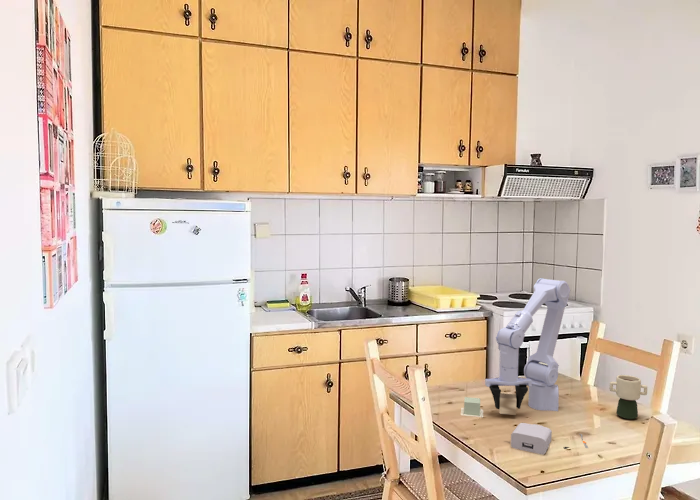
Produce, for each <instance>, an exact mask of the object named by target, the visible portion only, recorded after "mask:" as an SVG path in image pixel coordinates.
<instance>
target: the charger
mask: <svg viewBox="0 0 700 500" xmlns="http://www.w3.org/2000/svg"><path fill="white" fill-rule="evenodd" d="M552 435H553V433H552V430H551V428H550V427H546V426H543V425H541V424H540V425H539V424H535V423H533V424H531V423H525V422H520V423H518V424H517V426H516V428H515V429H514V430H512V432H511V434H510V447H511V448H513V449H515V450H518V451H519V450H520V451H524V452H530V453H533V454H537V455H542V456H543V455H545V454H546V452H547V451H548V449H549V447H550V444H551V442H552Z"/></svg>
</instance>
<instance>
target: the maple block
mask: <svg viewBox="0 0 700 500" xmlns="http://www.w3.org/2000/svg"><path fill="white" fill-rule="evenodd" d="M516 402H517V399H516V393H504V392H501V393H500V408H499V409H498V412H499V414H501V415H511V416H512V415H513V416H517V407H516Z"/></svg>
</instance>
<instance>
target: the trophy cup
mask: <svg viewBox="0 0 700 500" xmlns="http://www.w3.org/2000/svg"><path fill="white" fill-rule="evenodd" d="M614 386H615V388H614ZM641 389H643V391H641ZM609 391H610V392H613V393H615V395H616V396H617V397H618V398H619V399H618V402H617V407H616V415H617V416H619V417H621V418H623V419H628V420H629V419H630V420H633V419H637V418H638V416H639V409H638V402H637V401H638V400H640V398H641V396H647V394H648V385H646V384H642V379H641V378H640V377H637V376H633V375H629V374H621V375H619V374H618V375H616V380H615V381H610V382H609Z"/></svg>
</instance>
